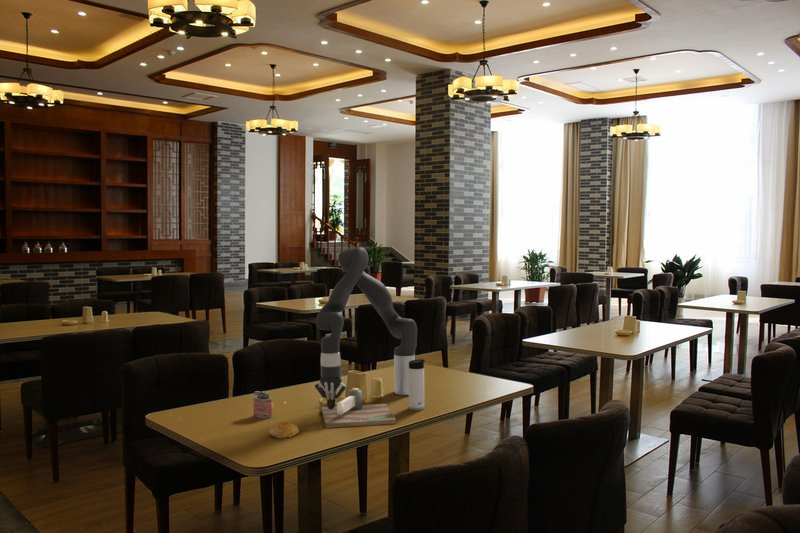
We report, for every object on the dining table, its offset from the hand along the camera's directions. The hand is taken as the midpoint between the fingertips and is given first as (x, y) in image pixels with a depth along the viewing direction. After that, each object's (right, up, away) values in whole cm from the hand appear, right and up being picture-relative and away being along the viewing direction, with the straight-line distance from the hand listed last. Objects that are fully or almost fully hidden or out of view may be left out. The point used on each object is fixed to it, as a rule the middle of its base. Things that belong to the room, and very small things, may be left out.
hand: (331, 408), depth 250 cm
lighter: (-27, -4, +4) cm, 27 cm away
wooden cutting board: (+10, -4, +3) cm, 11 cm away
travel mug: (+33, -3, +14) cm, 36 cm away
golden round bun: (-15, -6, -18) cm, 24 cm away
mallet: (+6, -2, +3) cm, 7 cm away
